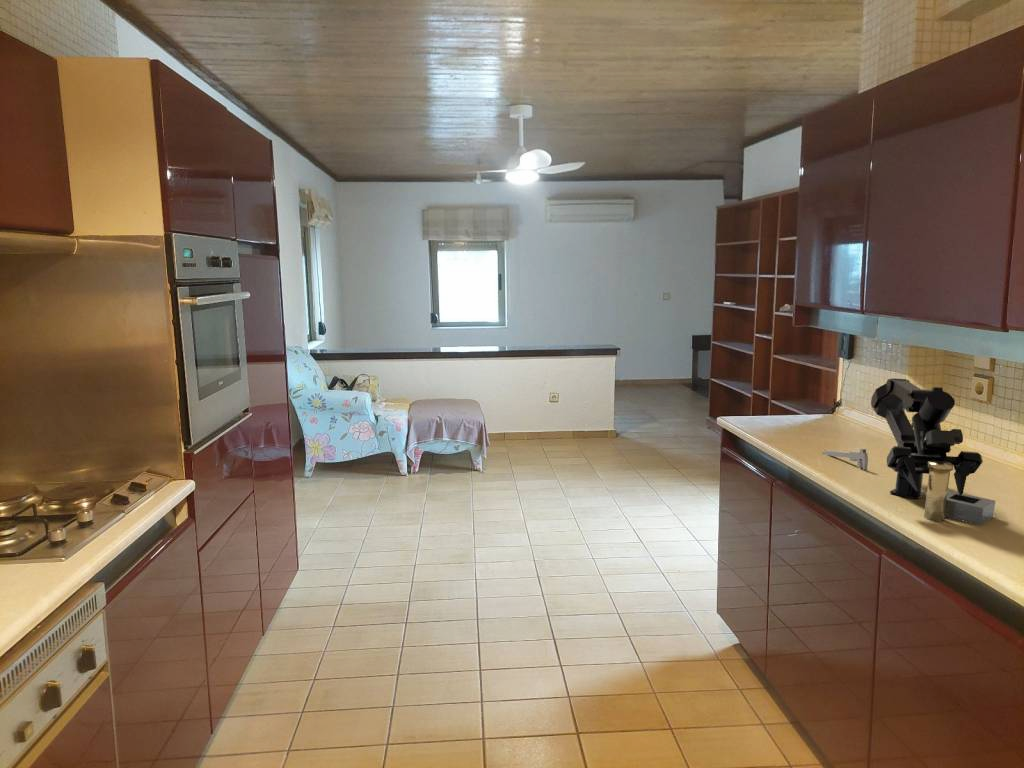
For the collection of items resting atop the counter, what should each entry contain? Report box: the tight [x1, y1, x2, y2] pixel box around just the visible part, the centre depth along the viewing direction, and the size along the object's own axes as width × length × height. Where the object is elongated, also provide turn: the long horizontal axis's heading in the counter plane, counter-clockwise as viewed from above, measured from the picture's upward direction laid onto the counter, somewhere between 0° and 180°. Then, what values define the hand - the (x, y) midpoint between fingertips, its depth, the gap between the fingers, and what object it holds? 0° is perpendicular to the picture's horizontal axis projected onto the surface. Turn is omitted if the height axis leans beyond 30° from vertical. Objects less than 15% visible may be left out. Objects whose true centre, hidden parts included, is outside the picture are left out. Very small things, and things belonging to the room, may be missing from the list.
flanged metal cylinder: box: [923, 461, 954, 522], centre depth 164 cm, size 5×5×13 cm
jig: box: [945, 489, 996, 526], centre depth 168 cm, size 9×10×4 cm
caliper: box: [821, 448, 869, 471], centre depth 215 cm, size 20×1×6 cm, turn 10°
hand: (939, 492), depth 163 cm, fingers open, 9 cm apart
